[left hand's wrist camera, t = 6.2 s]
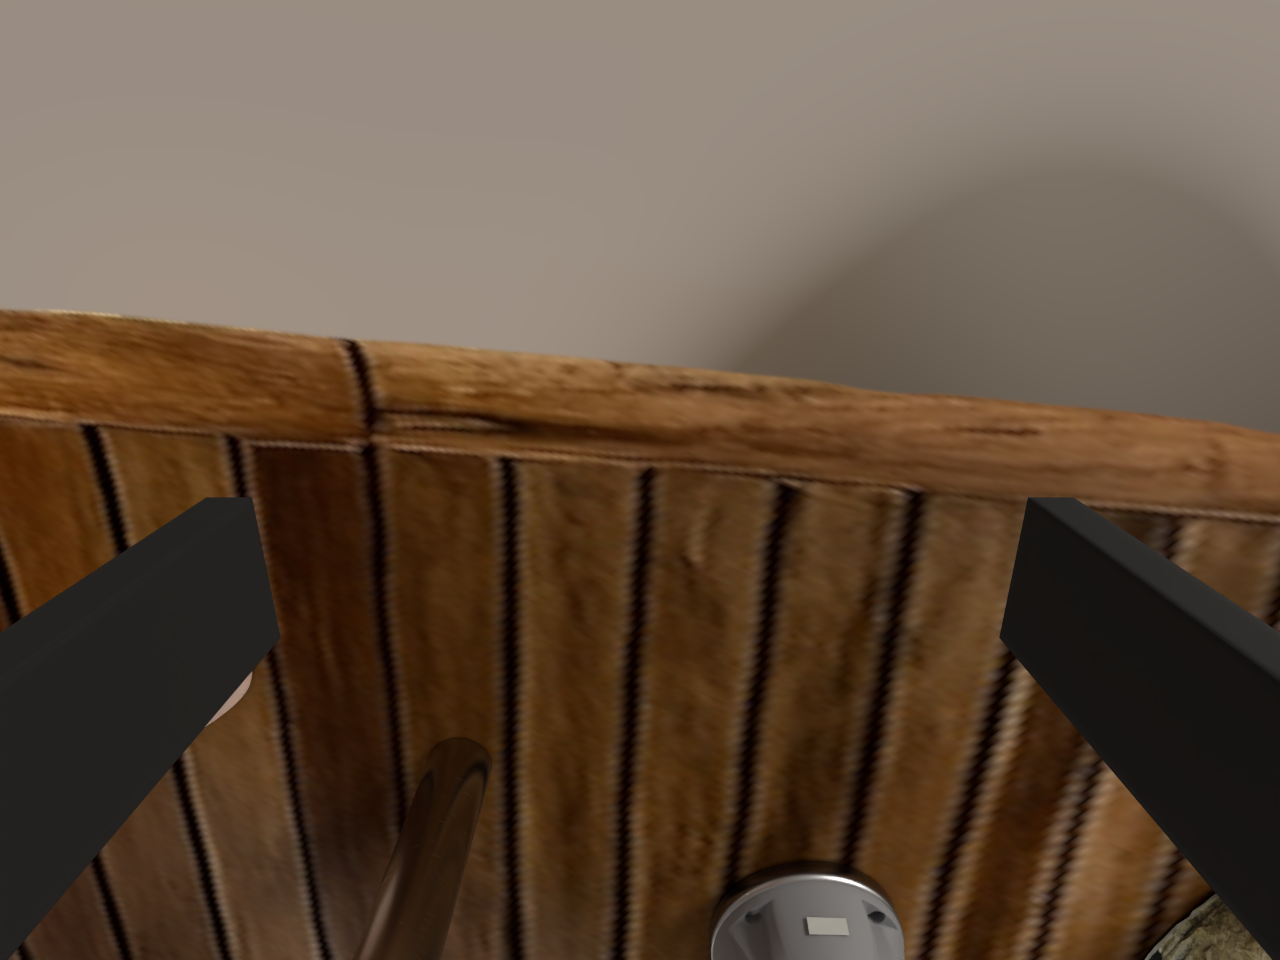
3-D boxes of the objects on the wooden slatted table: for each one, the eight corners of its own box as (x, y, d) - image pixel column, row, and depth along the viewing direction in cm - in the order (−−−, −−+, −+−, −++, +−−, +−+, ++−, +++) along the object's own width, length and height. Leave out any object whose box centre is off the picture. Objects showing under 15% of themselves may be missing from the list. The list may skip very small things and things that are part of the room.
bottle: (440, 791, 54) (308, 1175, 32) (421, 743, 52) (269, 1114, 31) (499, 781, 53) (404, 1163, 32) (481, 733, 52) (370, 1099, 30)
